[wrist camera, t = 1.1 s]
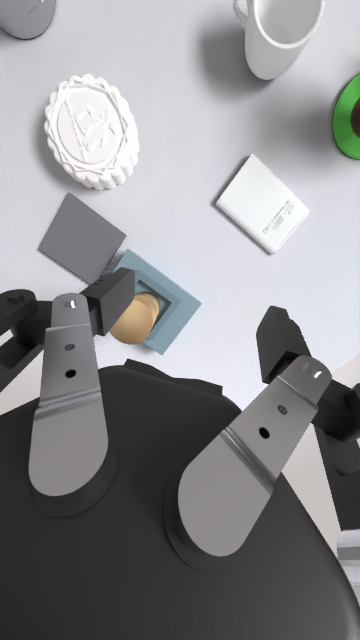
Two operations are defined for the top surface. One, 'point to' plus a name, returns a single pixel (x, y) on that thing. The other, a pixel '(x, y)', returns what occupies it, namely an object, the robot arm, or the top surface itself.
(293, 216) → the external hard drive
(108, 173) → the mooncake
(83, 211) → the grey rubber coaster
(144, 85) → the top surface
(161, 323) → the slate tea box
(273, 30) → the teacup
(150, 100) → the top surface
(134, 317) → the oak stopper
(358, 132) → the mushroom figurine
